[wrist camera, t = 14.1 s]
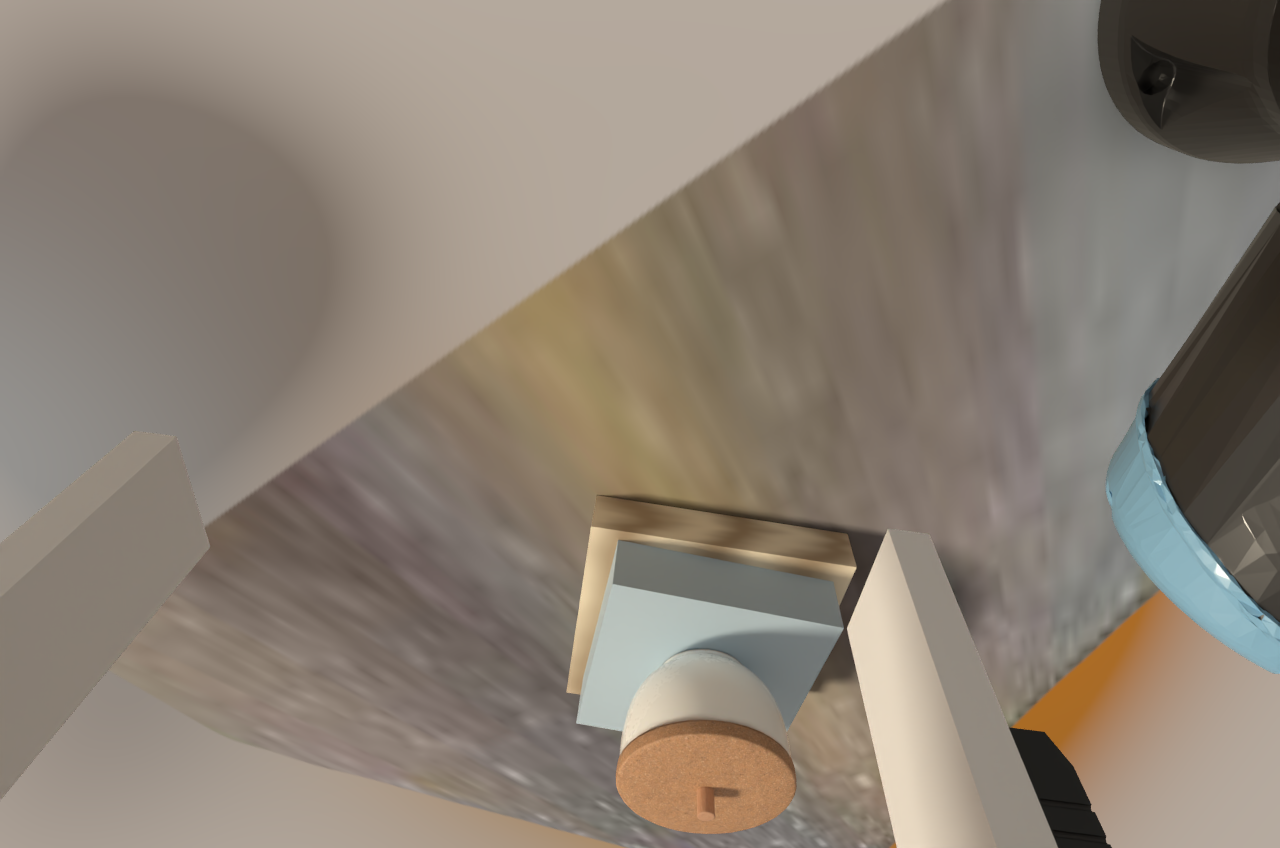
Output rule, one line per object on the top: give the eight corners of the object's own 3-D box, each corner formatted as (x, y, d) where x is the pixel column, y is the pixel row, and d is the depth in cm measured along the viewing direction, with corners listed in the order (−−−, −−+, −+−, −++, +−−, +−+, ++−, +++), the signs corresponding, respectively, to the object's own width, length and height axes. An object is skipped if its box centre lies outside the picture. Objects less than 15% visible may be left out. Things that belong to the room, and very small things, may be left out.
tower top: (833, 581, 48) (843, 628, 45) (767, 710, 56) (772, 758, 53) (618, 539, 47) (612, 584, 44) (583, 677, 55) (576, 723, 52)
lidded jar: (596, 688, 50) (579, 824, 42) (681, 601, 44) (680, 739, 36) (720, 742, 52) (726, 879, 44) (814, 666, 47) (840, 808, 39)
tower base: (845, 527, 51) (856, 567, 47) (780, 682, 60) (786, 724, 57) (597, 488, 50) (591, 526, 47) (573, 651, 60) (566, 692, 57)
